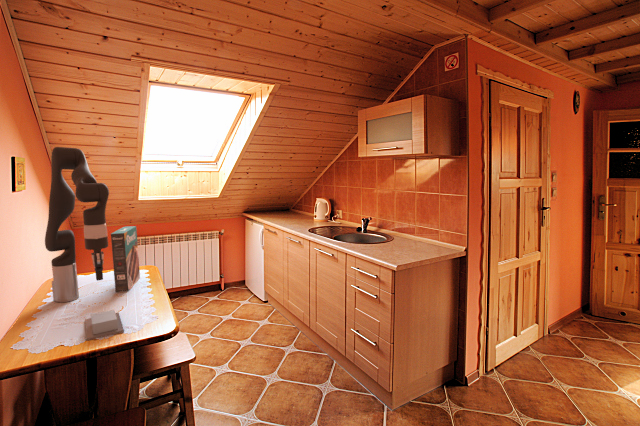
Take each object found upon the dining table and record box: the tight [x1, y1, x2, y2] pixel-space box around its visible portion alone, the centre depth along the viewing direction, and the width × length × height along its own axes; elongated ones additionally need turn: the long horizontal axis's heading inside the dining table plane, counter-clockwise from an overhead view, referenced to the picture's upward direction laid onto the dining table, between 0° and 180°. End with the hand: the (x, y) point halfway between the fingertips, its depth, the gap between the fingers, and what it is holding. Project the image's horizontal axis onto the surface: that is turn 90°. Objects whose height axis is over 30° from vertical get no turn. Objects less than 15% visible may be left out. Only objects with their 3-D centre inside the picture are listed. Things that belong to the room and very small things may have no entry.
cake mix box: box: [110, 225, 141, 293], centre depth 188 cm, size 22×6×30 cm, turn 13°
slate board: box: [84, 312, 125, 342], centre depth 140 cm, size 20×12×1 cm, turn 35°
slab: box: [90, 309, 118, 335], centre depth 138 cm, size 8×4×11 cm
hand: (99, 279), depth 137 cm, fingers closed
